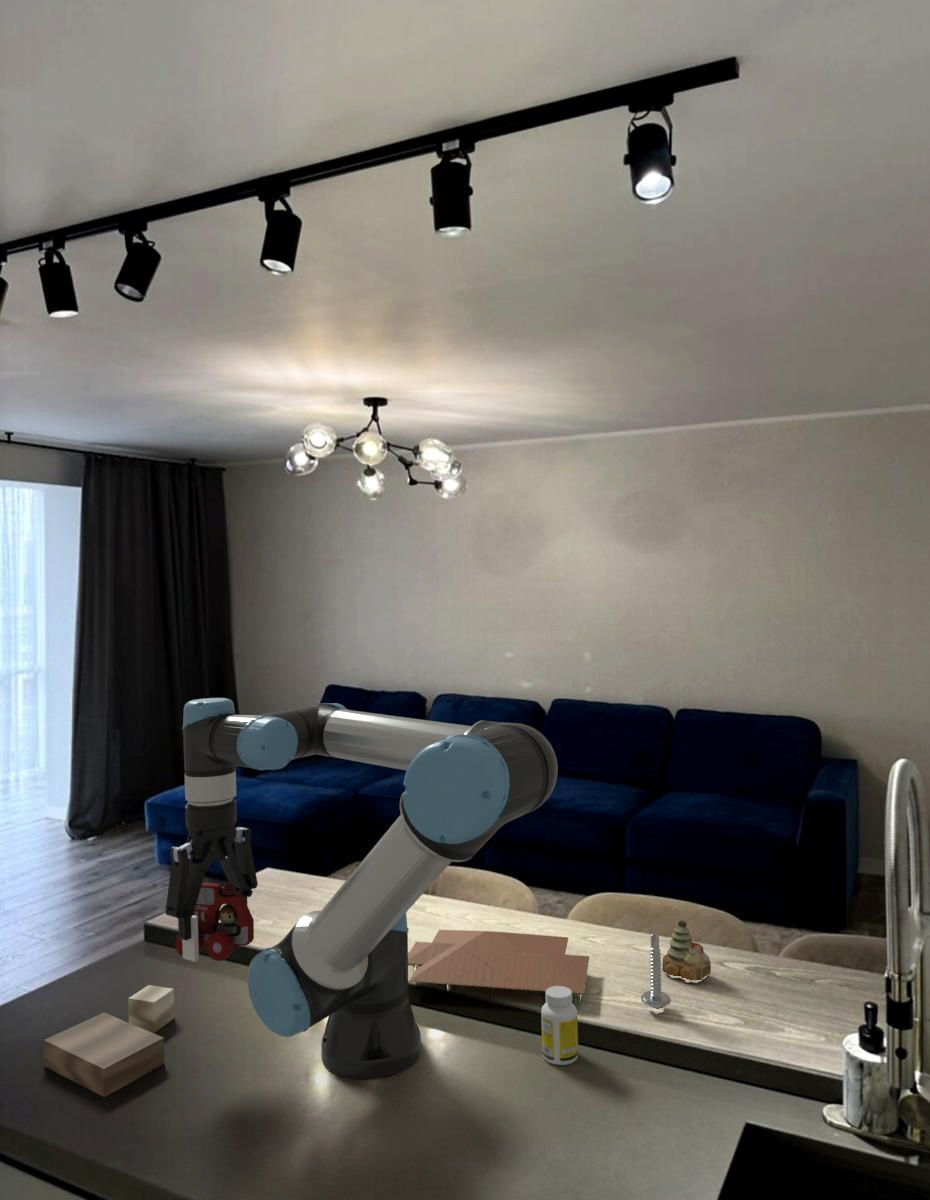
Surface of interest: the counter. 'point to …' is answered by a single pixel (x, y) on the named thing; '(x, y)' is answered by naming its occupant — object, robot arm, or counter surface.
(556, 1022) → the supplement bottle
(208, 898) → the toy fire truck
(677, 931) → the ornament
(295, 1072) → the counter surface
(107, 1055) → the plinth
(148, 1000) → the birch block
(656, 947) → the screw
